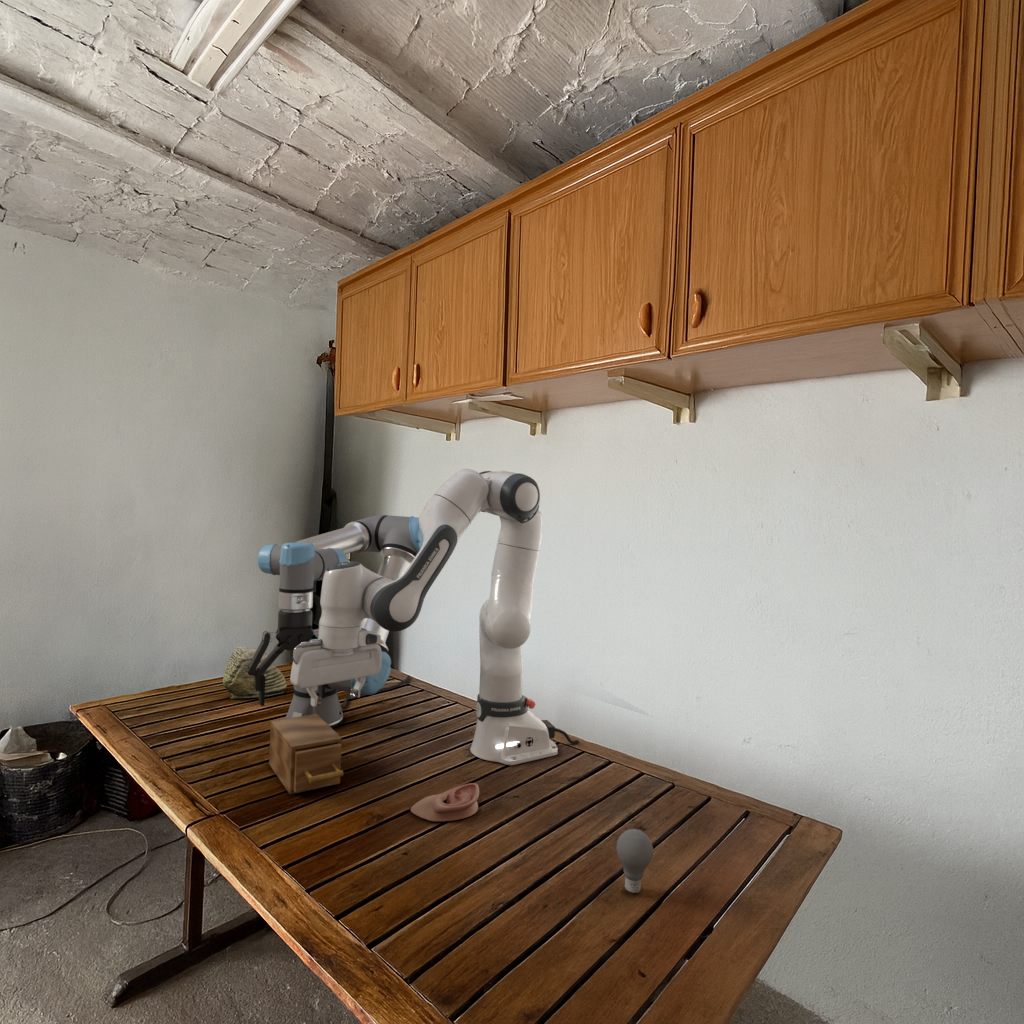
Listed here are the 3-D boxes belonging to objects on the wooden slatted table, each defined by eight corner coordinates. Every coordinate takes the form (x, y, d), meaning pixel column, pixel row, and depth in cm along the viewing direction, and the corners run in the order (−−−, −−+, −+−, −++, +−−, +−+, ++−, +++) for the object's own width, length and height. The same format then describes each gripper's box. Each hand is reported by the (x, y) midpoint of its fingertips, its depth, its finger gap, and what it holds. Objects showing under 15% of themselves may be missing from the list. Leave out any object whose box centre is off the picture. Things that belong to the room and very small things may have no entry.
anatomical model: (405, 797, 126) (424, 773, 137) (404, 817, 126) (424, 792, 138) (469, 807, 124) (484, 782, 135) (468, 827, 124) (483, 800, 135)
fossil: (218, 695, 195) (220, 647, 195) (278, 685, 208) (279, 640, 207) (228, 703, 189) (230, 653, 188) (289, 692, 201) (290, 645, 201)
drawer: (348, 792, 134) (350, 753, 134) (302, 803, 129) (304, 762, 128) (316, 756, 152) (317, 721, 152) (274, 764, 146) (276, 728, 146)
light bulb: (610, 879, 108) (613, 822, 108) (644, 879, 109) (647, 822, 109) (619, 902, 102) (622, 840, 102) (655, 901, 103) (658, 840, 103)
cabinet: (340, 783, 140) (341, 737, 140) (289, 794, 134) (291, 746, 134) (315, 755, 155) (316, 713, 154) (268, 764, 148) (270, 720, 148)
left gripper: (240, 615, 137) (237, 712, 138) (353, 609, 150) (350, 697, 151) (235, 609, 143) (232, 702, 144) (343, 603, 157) (340, 689, 157)
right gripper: (301, 646, 126) (297, 714, 126) (387, 635, 141) (383, 696, 141) (286, 639, 131) (282, 706, 131) (371, 629, 145) (367, 689, 146)
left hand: (292, 700), depth 147 cm, fingers open, 13 cm apart
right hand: (335, 701), depth 136 cm, fingers open, 8 cm apart
